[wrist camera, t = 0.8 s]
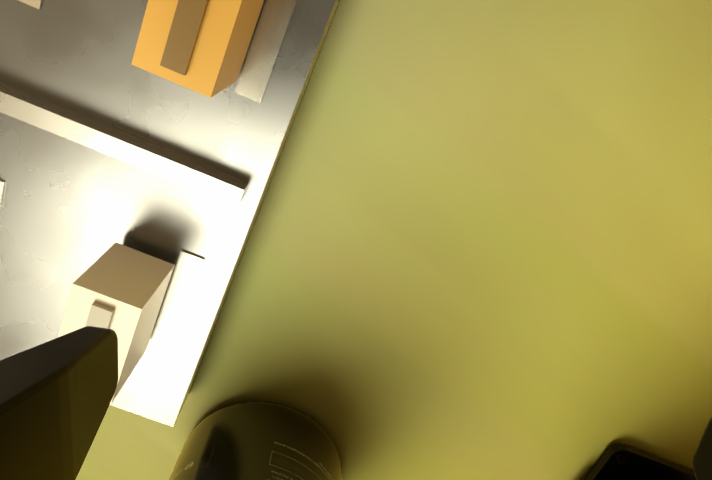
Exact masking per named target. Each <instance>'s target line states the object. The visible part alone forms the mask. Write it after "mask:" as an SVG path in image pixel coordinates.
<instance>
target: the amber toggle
mask: <svg viewBox="0 0 712 480" xmlns="http://www.w3.org/2000/svg"><path fill="white" fill-rule="evenodd" d="M263 2H264V0H148V3H147V7H146V11H145V15H144V18H143V22H142V26H141V30H140V33H139V37H138V41H137V45H136V48H135V52H134V56H133V60H132V63H131V64H132V65H134V66H136V67H139V68H141V69H143V70H146V71H148V72H150V73H153V74H155V75H158V76H160V77H162V78H165V79H167V80H169V81H172V82H174V83H177V84H179V85H181V86H184V87H186V88H188V89H191V90H193V91H195V92H198V93H200V94H203V95H205V96H207V97H210V98H211V97H213V96H214V95H216V94H217V93H219V92H221V91H222V90H224V89H225V88H227V87H228V86H230V85H232V84H233V83H235V82H236V81H237V79H238V76H239V73H240V70H241V68H242V65H243V62H244V59H245V56H246V53H247V50H248V47H249V44H250V41H251V38H252V35H253V32H254V29H255V26H256V23H257V20H258V17H259V14H260V11H261V8H262V5H263Z"/></svg>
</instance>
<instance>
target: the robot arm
mask: <svg viewBox="0 0 712 480" xmlns="http://www.w3.org/2000/svg"><path fill="white" fill-rule="evenodd" d="M117 383H118V338H117V334H116V332H115V331H114V330H113V329H108V328H101V327H94V326H86V327H83V328H80V329H78V330H75V331H73V332H70V333H68V334H65V335H63V336H60V337H58V338H55V339H53V340H50V341H48V342H45V343H43V344H40V345H38V346H35V347H33V348H30V349H28V350H25V351H23V352H20V353H17V354H15V355H12V356H10V357H7V358H5V359H2V360H0V480H75V479H76V477H77V475H78V473H79V471H80V468H81V466H82V464H83V462H84V460H85V458H86V455H87V453H88V451H89V449H90V446H91V444H92V442H93V440H94V438H95V435H96V433H97V431H98V429H99V427H100V424H101V422H102V420H103V418H104V415H105V413H106V411H107V409H108V407H109V404H110V402H111V400H112V398H113V395H114V393H115V390H116V387H117ZM620 455H623V456H622V457H619V458H617V457H618V456H620ZM693 469H694V470H691V469H689V468H686V467H684V466H681V465H678V464H676V463H673V462H670V461H668V460H665V459H663V458H660V457H657V456H655V455H652V454H650V453H647V452H644V451H642V450H639V449H636V448H634V447H631V446H629V445H626V444H622V443H618V444H614V445H612V446H610V447H609V448H608V449H607V451H606V452H605V453H604V455H603V456H602V457H601V459H600V460H599V461H598V463H597V464H596V465H595V467H594V468H593V469H592V471H591V472H590V473H589V475H588V476H587V477H586V479H585V480H712V418H711V419H710V420H709V422H708V424H707V427H706V429H705V431H704V434H703V436H702V438H701V440H700V443H699V445H698V447H697V450H696V452H695V454H694V459H693Z"/></svg>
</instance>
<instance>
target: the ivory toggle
mask: <svg viewBox="0 0 712 480" xmlns="http://www.w3.org/2000/svg"><path fill="white" fill-rule="evenodd" d="M174 266H175V265H174V264H171V263H169V262H166V261H163V260H161V259H158V258H156V257H153V256H150V255H148V254H145V253H143V252H140V251H137V250H135V249H132V248H130V247H127V246H124V245H122V244H119V243H114V244H113V245H112V246H111V247H110V248H109V249H108V250H107V251H106V252H105V253H104V254H103V255H102V256H101V257H100V258H99V259H98V260H97V261H96V262H95V263H94V264H93V265H91V266H90V267H89V268H88V269H87V270H86V271H85V272H84V273H83V274H82V275H81V276H80V277H79V278H78V279H77V280H76V281H75V282H74V283H73V284H72V287H71V291H70V295H69V299H68V302H67V306H66V310H65V314H64V317H63V321H62V325H61V329H60V332H59V336H58V337H60V336H63V335H65V334H68V333H70V332H73V331H75V330H78V329H80V328H83V327H86V326H94V327H101V328H108V329H113V330H114V331H115V332H116V334H117V338H118V383H117V387H116V390H115V393H114V395H113V398H112V400H111V402H110V405H111V404H112V402H113V401H114V399H115V398H116V396H117V394H118V393H119V391H120V390H121V388H122V387H123V385H124V384H125V382H126V380H127V379H128V377H129V376H130V374H131V373H132V371H133V370H134V368H135V367H136V365H137V363H138V362H139V360H140V359H141V357H142V356H143V354H144V353H145V351H146V349H147V346H148V343H149V340H150V337H151V334H152V331H153V328H154V325H155V322H156V319H157V316H158V313H159V310H160V307H161V304H162V301H163V298H164V295H165V292H166V289H167V286H168V284H169V281H170V278H171V275H172V272H173V269H174Z"/></svg>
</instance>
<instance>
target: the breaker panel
mask: <svg viewBox="0 0 712 480" xmlns="http://www.w3.org/2000/svg"><path fill="white" fill-rule="evenodd" d="M339 1H340V0H264V2H263V5H262V8H261V11H260V14H259V17H258V20H257V23H256V26H255V29H254V32H253V35H252V38H251V41H250V44H249V47H248V50H247V53H246V56H245V59H244V62H243V65H242V68H241V70H240V73H239V76H238V79H237V81H236V82H235V83H233V84H232V85H230V86H228V87H227V88H225V89H224V90H222V91H221V92H219V93H217V94H216V95H214V96H213V97H211V98H210V97H207V96H205V95H203V94H200V93H198V92H195V91H193V90H191V89H188V88H186V87H184V86H181V85H179V84H177V83H174V82H172V81H169V80H167V79H165V78H162V77H160V76H158V75H155V74H153V73H150V72H148V71H146V70H143V69H141V68H139V67H136V66H134V65H132V64H131V63H132V60H133V56H134V52H135V48H136V45H137V41H138V37H139V33H140V30H141V26H142V22H143V18H144V15H145V11H146V7H147V3H148V0H0V360H2V359H5V358H7V357H10V356H12V355H15V354H17V353H20V352H23V351H25V350H28V349H30V348H33V347H35V346H38V345H40V344H43V343H45V342H48V341H50V340H53V339H55V338H58V336H59V332H60V329H61V325H62V321H63V317H64V314H65V310H66V306H67V302H68V299H69V295H70V291H71V287H72V284H73V283H74V282H75V281H76V280H77V279H78V278H79V277H80V276H81V275H82V274H83V273H84V272H85V271H86V270H87V269H88V268H89V267H90V266H91V265H93V264H94V263H95V262H96V261H97V260H98V259H99V258H100V257H101V256H102V255H103V254H104V253H105V252H106V251H107V250H108V249H109V248H110V247H111V246H112V245H113V244H114V243H119V244H122V245H124V246H127V247H130V248H132V249H135V250H137V251H140V252H143V253H145V254H148V255H150V256H153V257H156V258H158V259H161V260H163V261H166V262H169V263H171V264H174V265H175V266H174V269H173V272H172V275H171V278H170V281H169V284H168V286H167V289H166V292H165V295H164V298H163V301H162V304H161V307H160V310H159V313H158V316H157V319H156V322H155V325H154V328H153V331H152V334H151V337H150V340H149V343H148V346H147V349H146V351H145V353H144V354H143V356H142V357H141V359H140V360H139V362H138V363H137V365H136V367H135V368H134V370H133V371H132V373H131V374H130V376H129V377H128V379H127V380H126V382H125V384H124V385H123V387H122V388H121V390H120V391H119V393H118V394H117V396H116V398H115V399H114V401H113V402H112V404H111V406H114V407H117V408H120V409H123V410H126V411H128V412H131V413H134V414H137V415H140V416H143V417H146V418H149V419H151V420H154V421H157V422H160V423H163V424H166V425H169V426H171V427H173V426H174V424H175V422H176V420H177V418H178V415H179V413H180V411H181V409H182V407H183V405H184V403H185V401H186V398H187V396H188V394H189V391H190V389H191V386H192V384H193V381H194V378H195V376H196V373H197V371H198V368H199V365H200V363H201V360H202V358H203V355H204V352H205V350H206V347H207V345H208V342H209V339H210V337H211V334H212V332H213V329H214V326H215V324H216V321H217V318H218V316H219V313H220V311H221V308H222V305H223V303H224V300H225V298H226V295H227V292H228V290H229V287H230V285H231V282H232V279H233V277H234V274H235V272H236V269H237V266H238V264H239V261H240V259H241V256H242V253H243V251H244V248H245V246H246V243H247V240H248V238H249V235H250V232H251V230H252V227H253V225H254V222H255V219H256V217H257V214H258V212H259V209H260V206H261V204H262V201H263V199H264V196H265V193H266V191H267V188H268V186H269V183H270V180H271V178H272V175H273V173H274V170H275V167H276V165H277V162H278V160H279V157H280V154H281V152H282V149H283V146H284V144H285V141H286V139H287V136H288V133H289V131H290V128H291V126H292V123H293V120H294V118H295V115H296V113H297V110H298V107H299V105H300V102H301V100H302V97H303V94H304V92H305V89H306V87H307V84H308V81H309V79H310V76H311V73H312V71H313V68H314V66H315V63H316V60H317V58H318V55H319V53H320V50H321V47H322V45H323V42H324V40H325V37H326V34H327V32H328V29H329V27H330V24H331V21H332V19H333V16H334V14H335V11H336V8H337V6H338V3H339ZM109 405H110V404H109Z"/></svg>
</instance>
